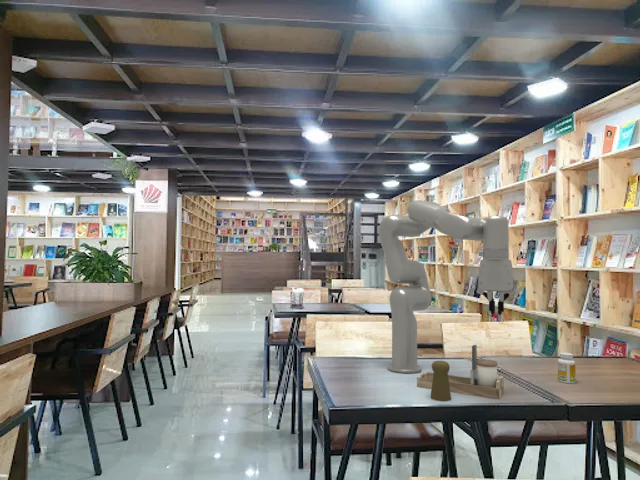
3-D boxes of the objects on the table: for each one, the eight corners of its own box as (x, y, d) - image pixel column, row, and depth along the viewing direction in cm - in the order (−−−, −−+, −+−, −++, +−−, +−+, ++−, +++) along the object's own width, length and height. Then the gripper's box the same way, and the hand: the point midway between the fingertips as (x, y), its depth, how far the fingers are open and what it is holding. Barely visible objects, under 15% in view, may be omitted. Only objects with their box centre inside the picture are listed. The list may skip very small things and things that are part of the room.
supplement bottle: (573, 380, 157) (573, 352, 157) (577, 384, 152) (576, 355, 152) (556, 379, 159) (556, 351, 159) (559, 382, 154) (559, 354, 154)
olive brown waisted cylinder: (427, 395, 137) (427, 359, 137) (446, 395, 137) (446, 359, 138) (434, 401, 131) (434, 363, 131) (454, 401, 131) (454, 363, 132)
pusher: (475, 387, 145) (475, 343, 145) (478, 388, 144) (477, 344, 145) (470, 393, 138) (470, 347, 139) (473, 393, 138) (473, 347, 139)
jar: (478, 389, 144) (478, 358, 144) (499, 392, 140) (498, 360, 141) (474, 394, 138) (474, 361, 139) (495, 397, 135) (495, 364, 136)
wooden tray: (425, 380, 154) (425, 365, 154) (503, 392, 141) (503, 376, 141) (416, 386, 146) (417, 371, 147) (499, 399, 133) (498, 382, 134)
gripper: (467, 255, 141) (468, 313, 140) (521, 255, 133) (522, 316, 132) (472, 255, 148) (473, 311, 146) (524, 255, 140) (525, 314, 138)
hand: (496, 313), depth 139 cm, fingers closed
